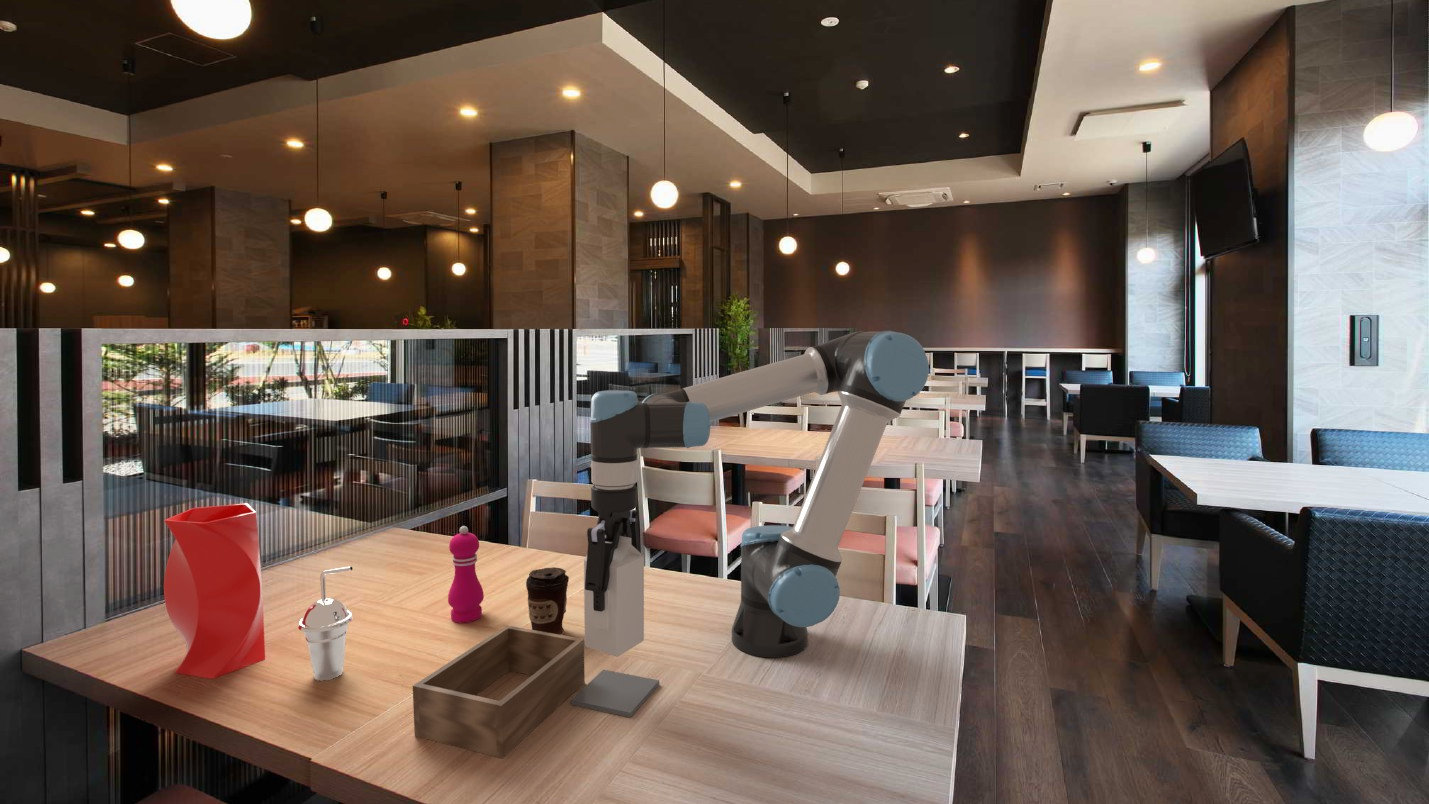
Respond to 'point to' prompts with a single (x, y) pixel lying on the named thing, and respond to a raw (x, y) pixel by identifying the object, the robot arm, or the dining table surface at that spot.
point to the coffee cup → (547, 599)
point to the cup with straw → (326, 632)
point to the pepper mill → (465, 578)
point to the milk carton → (619, 603)
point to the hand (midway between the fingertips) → (614, 617)
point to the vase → (216, 589)
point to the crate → (502, 725)
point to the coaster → (615, 693)
